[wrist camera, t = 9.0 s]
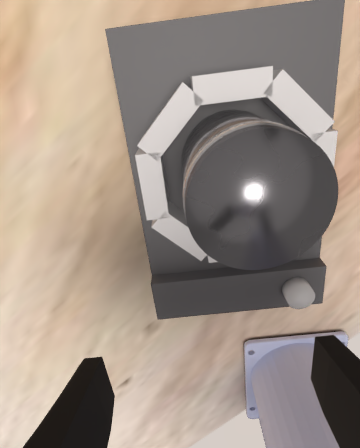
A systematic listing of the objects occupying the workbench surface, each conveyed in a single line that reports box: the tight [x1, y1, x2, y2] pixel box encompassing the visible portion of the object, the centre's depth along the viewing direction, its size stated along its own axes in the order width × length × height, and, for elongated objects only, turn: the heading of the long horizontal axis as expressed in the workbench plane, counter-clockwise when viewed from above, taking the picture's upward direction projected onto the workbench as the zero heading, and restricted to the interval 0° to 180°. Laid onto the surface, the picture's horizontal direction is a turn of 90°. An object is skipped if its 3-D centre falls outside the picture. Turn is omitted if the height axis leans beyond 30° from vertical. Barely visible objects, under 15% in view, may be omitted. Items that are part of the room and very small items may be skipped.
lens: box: [182, 109, 338, 270], centre depth 11 cm, size 4×4×6 cm
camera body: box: [105, 0, 345, 319], centre depth 15 cm, size 14×9×6 cm, turn 7°
